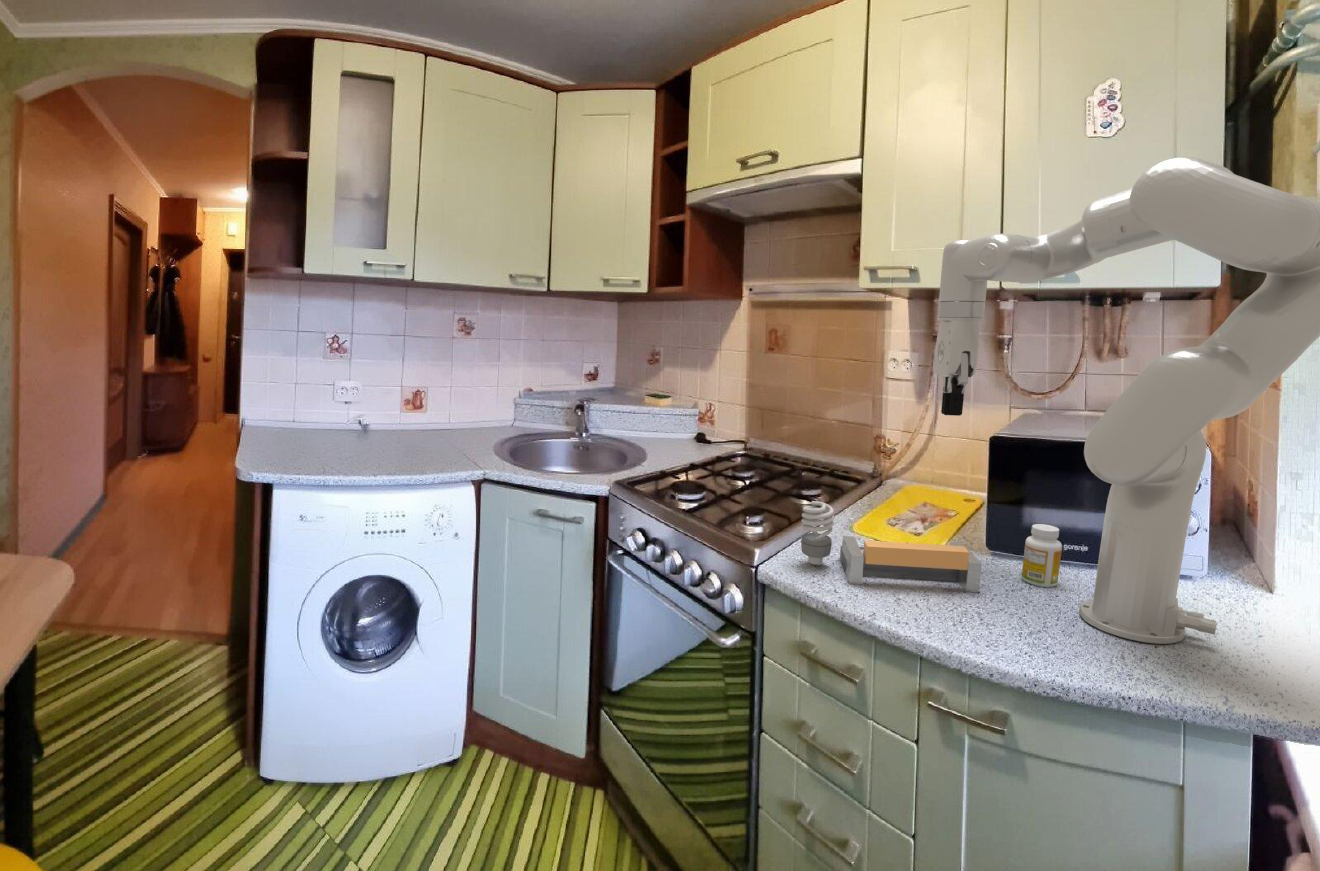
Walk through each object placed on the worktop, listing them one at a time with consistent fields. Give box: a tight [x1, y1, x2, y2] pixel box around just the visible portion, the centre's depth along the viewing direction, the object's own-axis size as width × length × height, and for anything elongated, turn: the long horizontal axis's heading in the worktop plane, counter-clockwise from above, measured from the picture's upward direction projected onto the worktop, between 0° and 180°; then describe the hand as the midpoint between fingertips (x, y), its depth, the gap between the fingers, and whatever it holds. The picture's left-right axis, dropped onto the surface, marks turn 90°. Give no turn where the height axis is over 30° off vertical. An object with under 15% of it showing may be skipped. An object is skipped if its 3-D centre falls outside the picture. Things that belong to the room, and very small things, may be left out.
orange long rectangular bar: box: [863, 540, 970, 570], centre depth 107 cm, size 16×3×3 cm, turn 82°
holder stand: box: [839, 535, 983, 593], centre depth 112 cm, size 21×12×5 cm, turn 82°
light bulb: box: [800, 500, 835, 567], centre depth 115 cm, size 6×6×12 cm
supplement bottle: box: [1021, 523, 1063, 588], centre depth 110 cm, size 5×5×10 cm
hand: (951, 414), depth 118 cm, fingers closed
